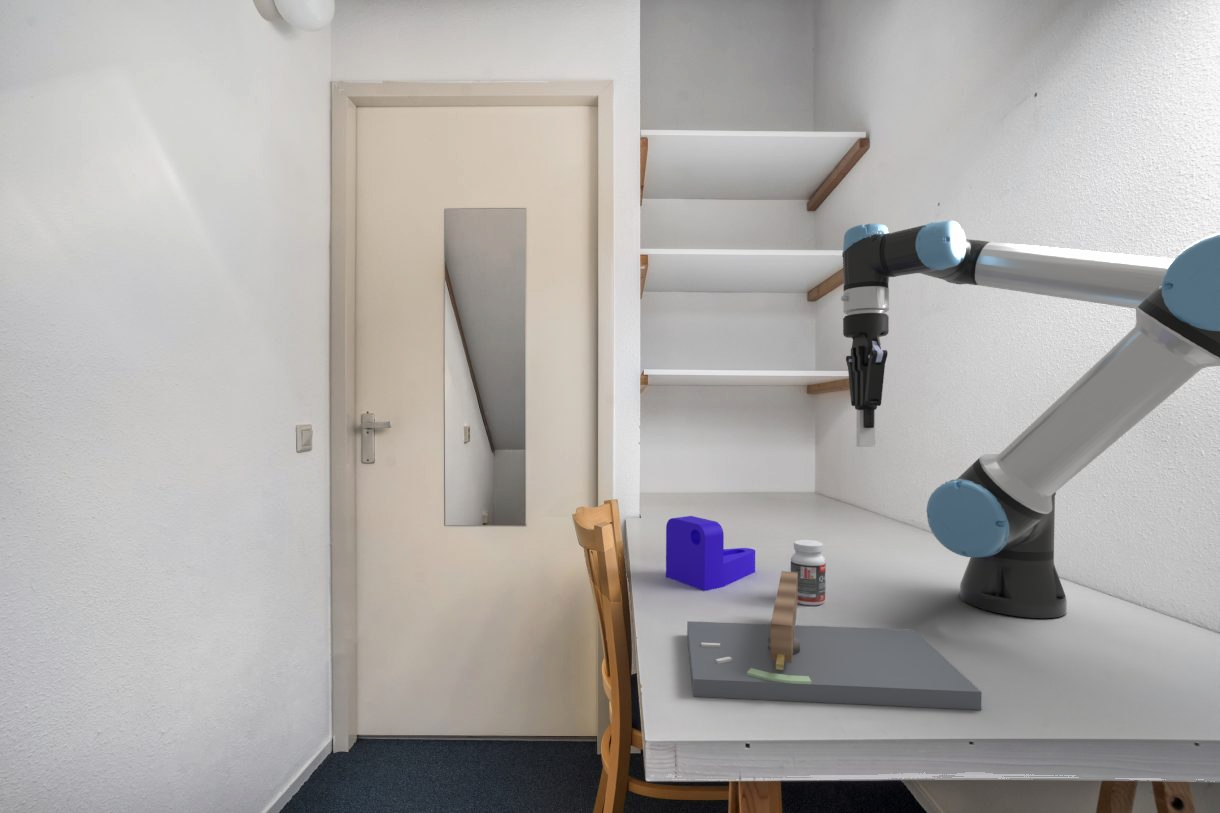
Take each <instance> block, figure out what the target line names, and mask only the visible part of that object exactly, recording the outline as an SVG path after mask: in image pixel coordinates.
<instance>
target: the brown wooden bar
mask: <svg viewBox="0 0 1220 813" xmlns="http://www.w3.org/2000/svg"><path fill="white" fill-rule="evenodd" d="M797 600H798V572H791V571H786V570H781V572H780V578H779V582H778V588H777V592H776V597H775V601H774V605H773V611H772V615H771V616H772V617H771V620H770V624H771V636H770V637H768V649H769V650H771V657H770V660H771V661H776V669H779V670H783V668H784V662H786V663H792V654H796V653H798V652H800V641H799V640H798V639H797V638H795V637H794V632H795V625H796V619H797V609H798V603H797Z"/></svg>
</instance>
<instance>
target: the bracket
mask: <svg viewBox="0 0 1220 813" xmlns="http://www.w3.org/2000/svg"><path fill="white" fill-rule="evenodd" d="M724 537H725V536H724V529H723V527H722V525H721V524H720V523H719V522H718V521H715V520H711V519H707V518H703V517H697V516H694V515H688V516H679V517H672V518H671V517H670V518H669V519H668V521H667V522H666V527H665V577H666V578H668V579H671V580H673V581H677V582H678V583H682V584H683V585H688V586H690V587H693V588H695V589H698V590H702V591H703V592H707V591H711V590H716V589H720V588H724V587H726V586H728V585H731V584H733V583H736V582H737V581H739V580H741V579H744V578H746V577H748V576H750V575H752V574H754V573H756V550H755V549H753V548H751V547H750V548H749V547H739V548H738V547H737V548H736V547H735V548H725V547H724V539H725V538H724Z"/></svg>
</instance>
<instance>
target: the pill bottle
mask: <svg viewBox="0 0 1220 813" xmlns="http://www.w3.org/2000/svg"><path fill="white" fill-rule="evenodd" d="M823 546H824V545H823V543H822V542H821V541H819V540H814V539H813V540H812V539H811V540H810V539H799V540H798V539H797V540H795V541H794V542H793V549H794V551H795V553H794V554H792V555H791V557H790V572H798V600H797V604H800V605H803V606H804V605H805V606H819V605H820V606H821V605H823V604H825V602H826V566H827V564H826V563H827V562H826V559H825V557H824V556H823V555H822V552H823V551H824V548H823Z"/></svg>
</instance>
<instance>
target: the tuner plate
mask: <svg viewBox="0 0 1220 813" xmlns="http://www.w3.org/2000/svg"><path fill="white" fill-rule="evenodd" d="M686 623H687V625H686V626H687V632H686V634H687V636H686V637H687V638H686V639H687V646H688V656H689V665H690V677H691V688H692V697H696V698H697V697H699V698H716V699H717V698H719V699H721V698H722V699H738V700H741V699H742V700H759V701H760V700H762V701H764V700H765V701H767V700H768V701H784V702H785V701H786V702H805V703H825V704H826V703H828V704H846V705H847V704H849V705H850V704H851V705H868V706H870V705H871V706H892V707H893V706H894V707H908V708H910V707H912V708H931V709H932V708H933V709H934V708H935V709H950V710H951V709H956V710H957V709H958V710H972V711H973V710H976V711H977V710H978V711H981V710H982V697H983V696H982V691H981V689H979V688H978V687H977V686H976V685H975V684H974V683H973V682H972V681H970V680H969V679H968V678H967V677H966V676H965V675H964V674H962V672H961V671H959V670H958V669H957V668H956V667H955V666H954V665H953V664H952V663H951V662H950V661H949V660H947V659H946V658H945V656H943V655H942V654H941V653H940V652H939V651H938V650H936V648H934V647H933V646H932V645H931V644H930V643H929V642H928V641H927V640H925V639H924V638H923V636H921V635H920V634H919V633H918V632H917V631H915V629H908V628H903V629H902V628H882V627H881V628H878V627H877V628H876V627H854V626H853V627H852V626H851V627H850V626H826V625H825V626H824V625H823V626H822V625H797V624H795V632H794V637H795V638H797V639H798V640H799V641H800V652H798V653H796V654H792V663H786V662H784V668H783V670H779V669H776V661H771V660H770V657H771V650H769V649H768V637H770V636H771V623H769V624H767V623H764V624H763V623H745V622H742V623H741V622H740V623H739V622H721V621H720V622H719V621H716V622H715V621H714V622H713V621H687V622H686Z"/></svg>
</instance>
